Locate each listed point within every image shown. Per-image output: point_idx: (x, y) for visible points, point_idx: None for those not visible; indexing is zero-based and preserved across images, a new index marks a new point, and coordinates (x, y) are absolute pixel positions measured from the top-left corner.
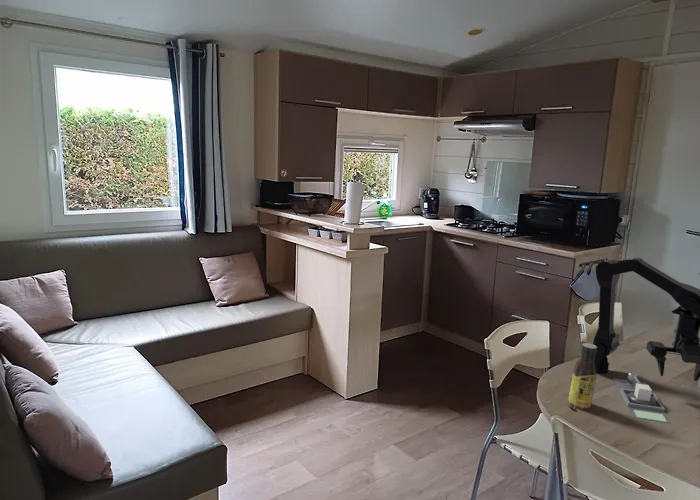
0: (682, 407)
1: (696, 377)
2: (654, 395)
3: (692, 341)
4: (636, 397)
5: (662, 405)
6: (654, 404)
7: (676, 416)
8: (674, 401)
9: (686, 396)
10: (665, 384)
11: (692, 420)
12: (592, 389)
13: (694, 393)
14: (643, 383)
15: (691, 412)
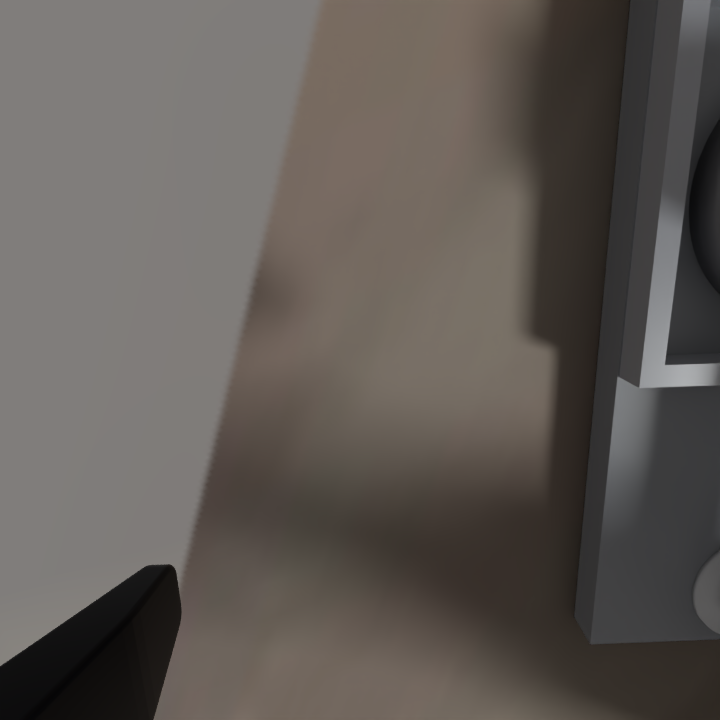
0: (357, 299)
1: (128, 610)
2: (665, 327)
3: None
4: None
5: (676, 63)
6: (715, 135)
7: (487, 46)
8: (398, 405)
9: (254, 548)
10: (376, 708)
11: (339, 8)
12: None
13: None
14: (618, 625)
15: (297, 214)
